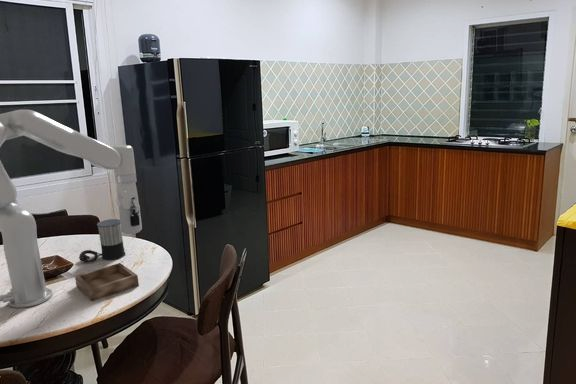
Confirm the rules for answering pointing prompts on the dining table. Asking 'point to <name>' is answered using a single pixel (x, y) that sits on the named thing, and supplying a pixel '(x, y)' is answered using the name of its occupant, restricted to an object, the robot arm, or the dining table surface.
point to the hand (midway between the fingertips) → (131, 223)
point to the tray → (106, 281)
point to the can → (128, 221)
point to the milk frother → (107, 242)
